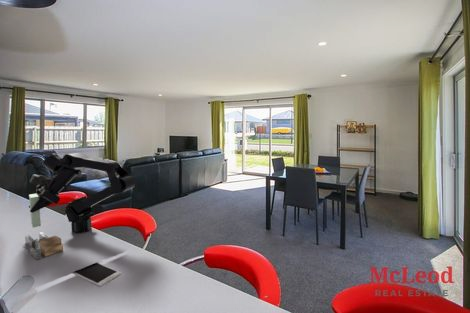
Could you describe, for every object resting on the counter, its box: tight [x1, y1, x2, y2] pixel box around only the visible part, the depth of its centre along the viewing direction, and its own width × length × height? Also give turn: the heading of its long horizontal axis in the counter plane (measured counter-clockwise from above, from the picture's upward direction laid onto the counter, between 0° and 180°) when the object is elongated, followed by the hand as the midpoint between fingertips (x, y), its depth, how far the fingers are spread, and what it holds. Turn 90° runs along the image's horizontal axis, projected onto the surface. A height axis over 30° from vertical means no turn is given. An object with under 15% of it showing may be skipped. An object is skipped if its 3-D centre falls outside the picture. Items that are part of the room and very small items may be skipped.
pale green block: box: [28, 193, 42, 228], centre depth 97 cm, size 2×6×12 cm, turn 43°
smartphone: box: [71, 262, 122, 287], centre depth 77 cm, size 7×15×1 cm, turn 63°
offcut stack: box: [40, 235, 64, 256], centre depth 88 cm, size 6×5×4 cm
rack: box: [20, 231, 64, 261], centre depth 90 cm, size 8×18×4 cm, turn 53°
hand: (30, 209), depth 96 cm, fingers closed on pale green block, 6 cm apart
